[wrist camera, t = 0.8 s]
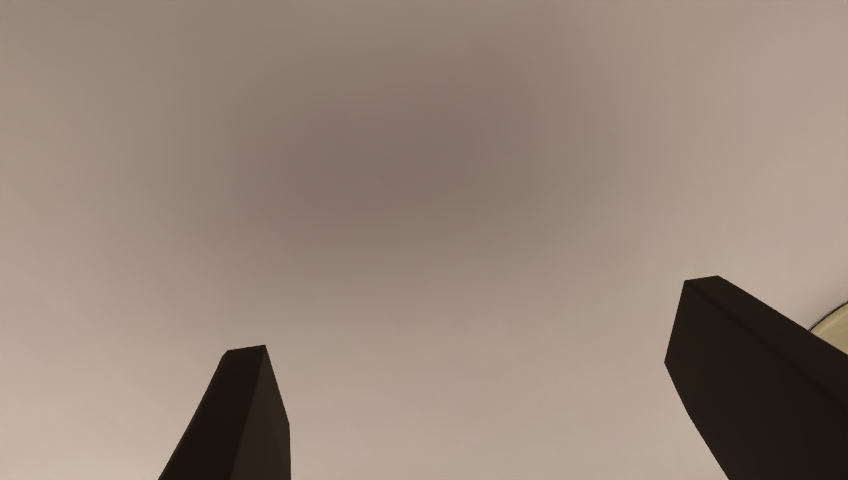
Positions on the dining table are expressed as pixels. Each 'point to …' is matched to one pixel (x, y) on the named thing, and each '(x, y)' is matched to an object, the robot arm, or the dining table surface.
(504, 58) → the dining table surface
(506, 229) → the dining table surface
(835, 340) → the can
